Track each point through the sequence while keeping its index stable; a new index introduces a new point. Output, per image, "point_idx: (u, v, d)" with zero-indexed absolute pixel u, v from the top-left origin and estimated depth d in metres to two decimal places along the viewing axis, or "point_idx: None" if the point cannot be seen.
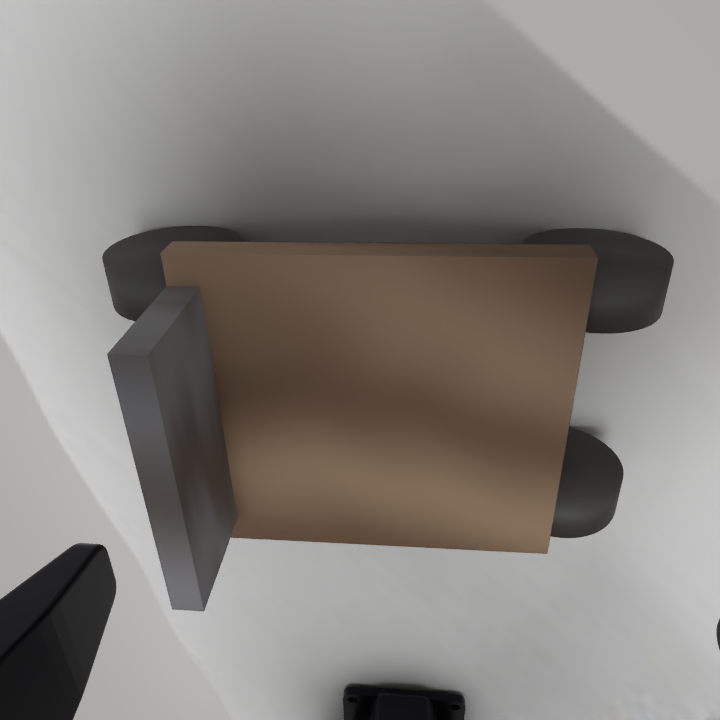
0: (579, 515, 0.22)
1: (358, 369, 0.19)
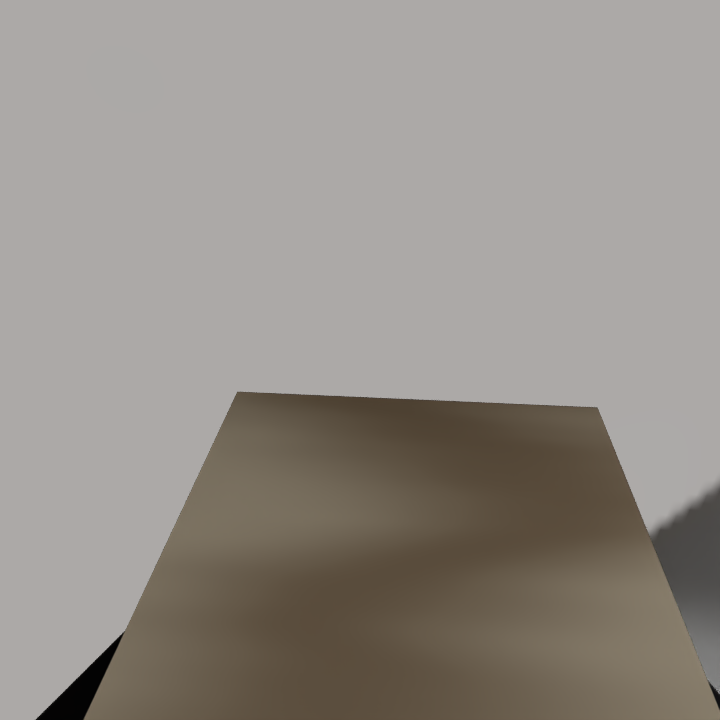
0: None
1: None
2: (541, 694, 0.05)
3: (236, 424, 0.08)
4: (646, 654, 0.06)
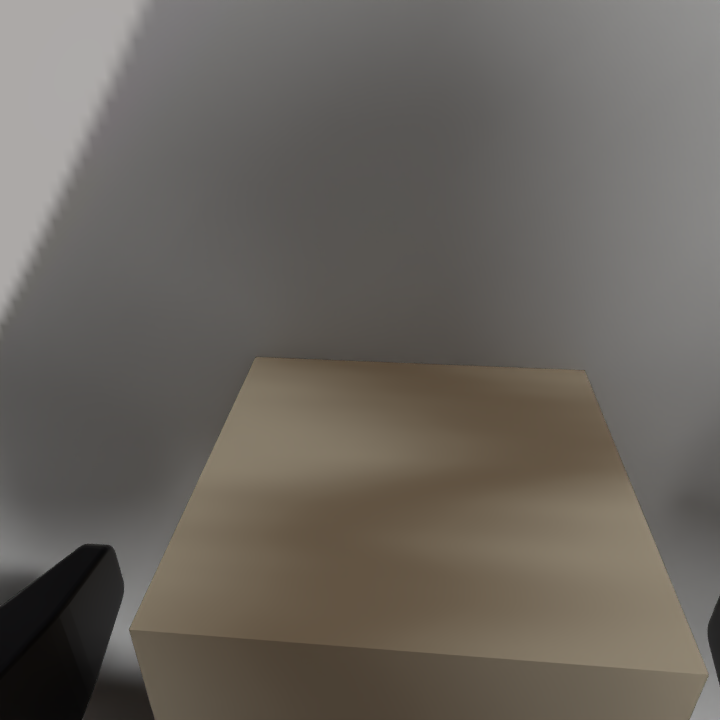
0: None
1: None
2: (527, 588, 0.06)
3: (257, 381, 0.09)
4: (619, 559, 0.06)
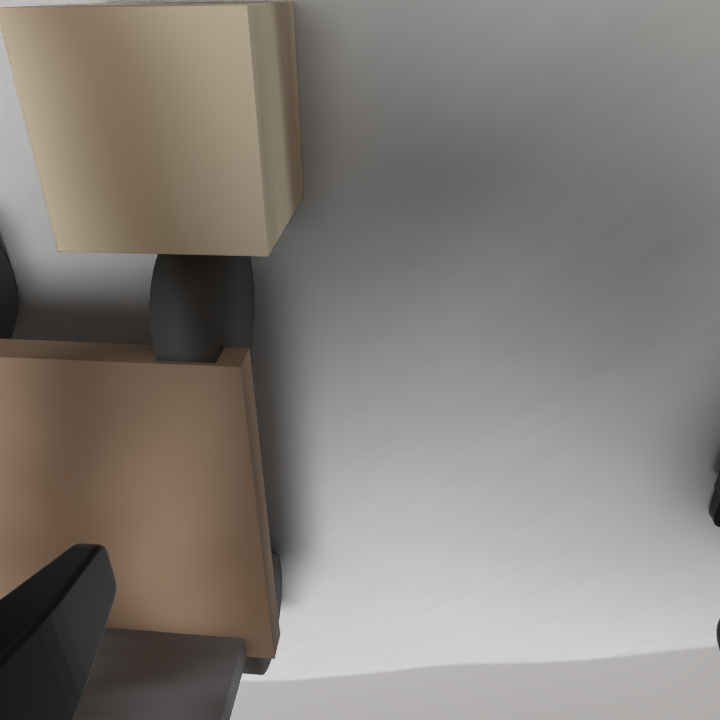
0: (173, 331, 0.16)
1: (35, 531, 0.20)
2: (188, 5, 0.13)
3: (99, 3, 0.16)
4: (241, 4, 0.13)
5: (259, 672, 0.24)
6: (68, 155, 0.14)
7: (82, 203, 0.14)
